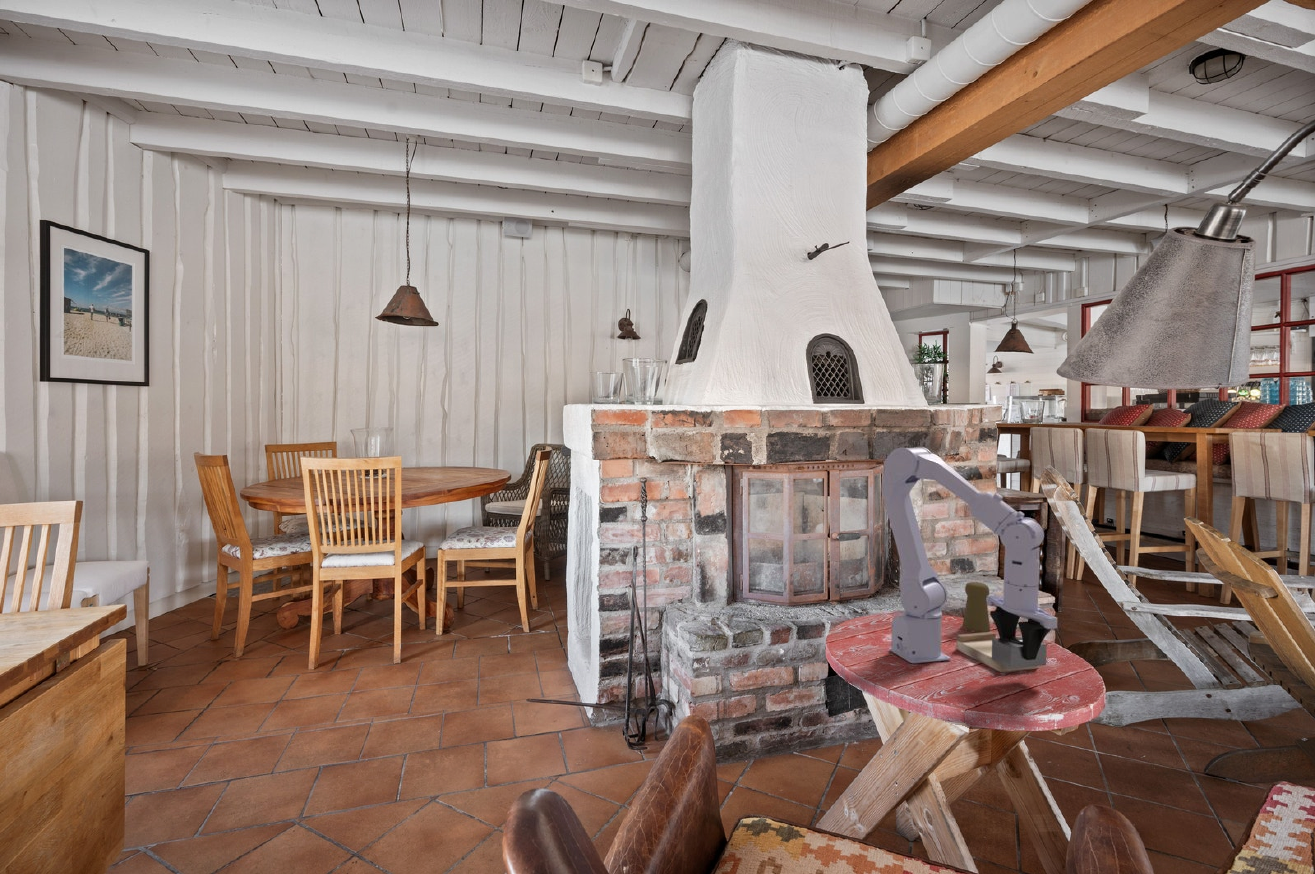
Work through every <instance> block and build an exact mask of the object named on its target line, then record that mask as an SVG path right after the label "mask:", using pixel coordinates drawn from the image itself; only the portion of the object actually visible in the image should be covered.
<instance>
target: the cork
mask: <svg viewBox="0 0 1315 874" xmlns="http://www.w3.org/2000/svg"><path fill="white" fill-rule="evenodd" d="M964 591H965V594H966V596H967V598H966V602H965V608H964V609H965V610H964V614H963V621H962V626H961V627H962V629H964V630H966V631H970V632H973V633H984V632H991V625H990V616H989V615H990V614H989V609H988V607H989V606H988V605H987V596H989V595H990V588H989V586H988V585H987V584H986V583H983V582H979V581H968V582H966V584H965V586H964Z"/></svg>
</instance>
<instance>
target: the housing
mask: <svg viewBox="0 0 1315 874" xmlns="http://www.w3.org/2000/svg"><path fill="white" fill-rule="evenodd" d="M1047 645H1048V644H1047V643H1044V642H1043V641H1042V643H1041V646H1040V648H1039V651H1038V654H1037V657H1036V659H1035V660H1026V659H1024V656H1023V640H1022V635H1021V636H1016V637H1007V638H1000V637H997V638H996V639H992V660H994V661H996V662H998V663H1000V664H1002V665H1004V666H1006V667H1008V668H1010V669H1014V668H1024V667H1034V666H1038V667H1041V666H1047Z"/></svg>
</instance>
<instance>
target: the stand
mask: <svg viewBox="0 0 1315 874" xmlns="http://www.w3.org/2000/svg"><path fill="white" fill-rule="evenodd" d="M996 637H997V633H995V632H994V631H990V632H984V633H979V632H973V633H963V634H962V633H961V634H956V650H957V651H958V652H961V653H963V654H964V655H967V656H969V657H971V658H972V659H974V660H976V661H977V662H980V663H982V664H985V665H986V666H988V667H990V668H992V669H994V670H996V671H998V672H1000V673H1004V672H1005V673H1006V672H1015V671H1024V670H1025V671H1027V670H1035V669H1039V666H1034V667H1024V668H1014V669H1010V668H1008V667H1006V666H1004V665H1002V664H1000V663H998V662H996V661H994V660H992V639H996Z"/></svg>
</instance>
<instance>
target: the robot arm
mask: <svg viewBox="0 0 1315 874" xmlns="http://www.w3.org/2000/svg"><path fill="white" fill-rule="evenodd" d="M883 466H884V474H883V478H882V483H881V494H882V498H883V501H884V505H885V509H886V512H887V516H888V519H889V522H890V528H891V530H892V531H891V532H892V534H893V538H894V542H895V546H896V549H897V553H898V556H899V559H900V563H901V564H900V565H901V567H902V573H901V576H900V579H899V584H900V593H899V594H900V595H899V601H900V604H901V607H902V608H903V609H904V611H903V613H901V614H898V615H895V616H893V618H892V621H891V641H890V642H891V643H890V644H891V645H890V647H889V648H888V650H889V651H890V652H892V653H894V654H895V655H897V656H899V657H901V658H902V659H904V660H905V661H907V662H908V663H911V664H921V663H931V662H941V661H950V660H951V657H950V656H949V655H946V654H945V653H944V652H942V624H943V620H942V619H943V613H942V612H943V611H942V606H944V604H945V603H946V601H947V600H948V592H947V589H946V586H944V584H943V583H942V582H941V580H940V579H939V576H938V572H937V571H936V570H935V569H934V568H933V567H932V566H931V565H930V563H929V560H928V555H927V552H926V548H925V545H924V540H923V538H922V535H921V531H920V527H919V524H918V520H917V516H916V513H915V509H914V507H913V502H912V498H911V495H910V493H911V491H912V490H913V489H914V487H915V485H916V484H917V483H918V481H920V480H921V479H923V480H930V481H935V482H936V483H938V484H939V485H941V486H942V487H943V488H944V489H946V490H948V491H949V492H951V493H952V494H954V496H956V497H958V498H959V499H960V500H962V501H963V502H965V503H966V504H968V505H967V506H968V510H969V514H970V516H971V515H972V516H973V517H974V518H975V519H976V520H978V521H979V522H980V523H982V524H983V526H985V527H987V528H988V529H989V530H990V531H991V532H993V533H994V534H995V535H997V536H999V538H1000V542H1001V544H1002V545H1003V547H1004V549H1005V550H1004V568H1003V590H1002V591H1003V595H1002V596H1000V595H996V594H994V595H993V594H992V595H990V594H989V596H987V607H995V609H994V610H990V611H989V615H990V616H989V617H991V619H992V620H993V622H994V625H995V627H996V629H997V632H998V638H1007V637H1017V636H1016V633H1017V628H1018V627H1019V630H1020V634H1021V636H1022V640H1023V656H1024V659H1026V660H1035V659H1036V657H1037V654H1038V651H1039V648H1040V646H1041V643H1042V642H1043V641H1044V639H1045V637H1046V636H1047V635H1048V634H1049V633H1050V631H1051V630H1052V629H1053V630H1054V629H1058V617H1056V616H1054V615H1052V614H1050V613H1048V612H1047V611H1045V610H1043V609H1042V606H1041V605H1039V590H1040V589H1039V588H1040V586H1039V584H1040V547H1039V546H1040V545H1041V544H1042V543H1043V541H1044V539H1045V532H1044V529H1043V528H1042V526H1041V524H1040V523H1038V521H1037V520H1036V519H1034V518H1031V517H1025V513H1024V512H1022V511H1017V510H1016V509H1014V508H1013V507H1012V506H1010V505H1009V504H1007V503H1006V502H1005V501H1003V498H1004V497H1003V496H1002V495H1001V494H999V493H995V494H994V493H993V492H991V491H983V492H981V491H980V490H979V489H978V488H976V487H975V486H974V485H973V484H971V482H969V481H968V480H966V479H965V478H964V477H963V476H962V475H961V474H959V472H957V471H956V470H955V469H953V468H952V467H951V466H950V465H949V464H947V463H946V462H945V460H943V458H941V457H940V456H939V455H938V454H937V455H936V453H935V454H934V453H932V452H931V451H930V450H929V449H928V448H926V447H923V446H915V447H899V448H895V449H893V450H892V451H891V452H890V453H889V454H888V456H887V457H886V459H884V461H883ZM1020 618H1023V619H1025V620H1027V621H1020Z"/></svg>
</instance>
